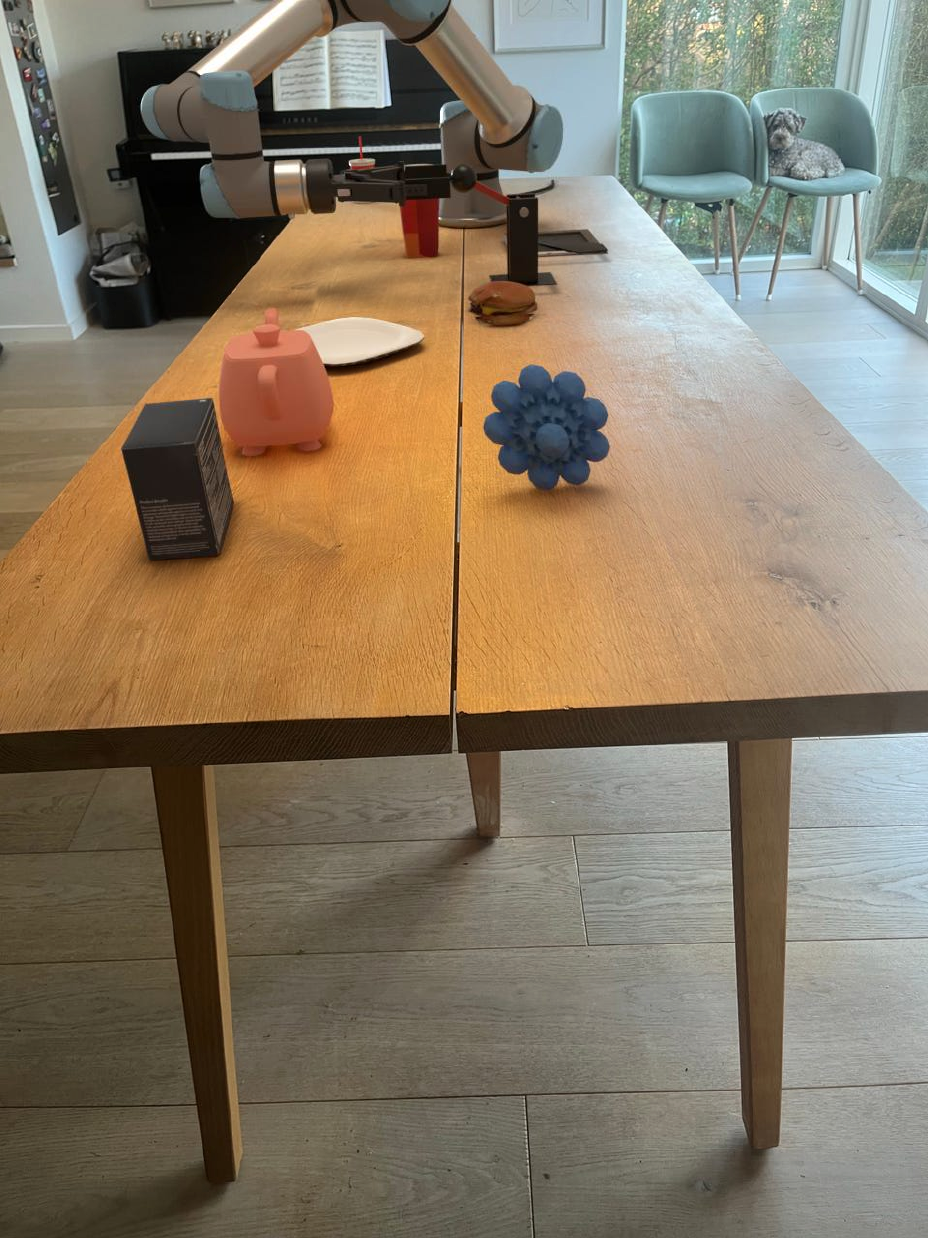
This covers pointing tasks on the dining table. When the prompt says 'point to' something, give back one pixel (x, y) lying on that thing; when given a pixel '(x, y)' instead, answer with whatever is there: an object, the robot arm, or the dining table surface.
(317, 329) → the plate
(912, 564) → the dining table surface
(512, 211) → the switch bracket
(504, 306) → the burger
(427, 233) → the coffee cup
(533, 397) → the blue beaded flower
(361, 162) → the beverage cup
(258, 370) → the teapot
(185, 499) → the small box
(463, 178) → the switch lever
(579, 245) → the picture frame
